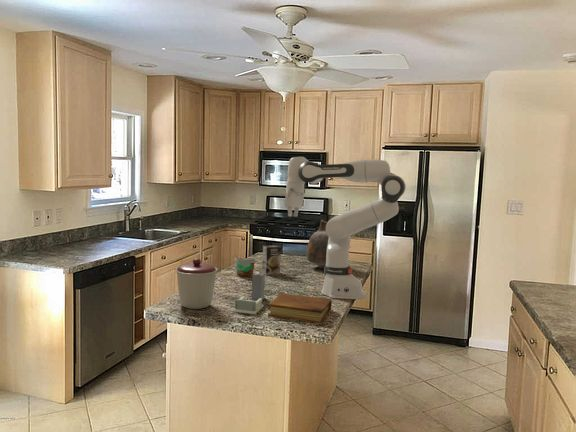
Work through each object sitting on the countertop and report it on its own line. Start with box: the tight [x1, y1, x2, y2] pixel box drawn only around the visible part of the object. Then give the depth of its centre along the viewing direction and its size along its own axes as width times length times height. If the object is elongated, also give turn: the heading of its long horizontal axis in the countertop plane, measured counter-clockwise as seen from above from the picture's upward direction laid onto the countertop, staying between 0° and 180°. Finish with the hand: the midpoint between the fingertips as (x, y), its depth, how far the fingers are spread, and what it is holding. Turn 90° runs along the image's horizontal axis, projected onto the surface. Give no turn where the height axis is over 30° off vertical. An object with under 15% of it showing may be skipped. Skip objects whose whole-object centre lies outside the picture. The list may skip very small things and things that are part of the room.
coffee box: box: [261, 244, 282, 276], centre depth 272 cm, size 9×6×16 cm
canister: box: [175, 258, 219, 310], centre depth 205 cm, size 18×18×21 cm
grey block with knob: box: [251, 271, 266, 301], centre depth 220 cm, size 5×5×13 cm
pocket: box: [232, 295, 264, 315], centre depth 204 cm, size 10×11×5 cm
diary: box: [267, 292, 332, 324], centre depth 202 cm, size 23×19×6 cm
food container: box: [234, 256, 256, 278], centre depth 264 cm, size 12×6×10 cm, turn 68°
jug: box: [306, 219, 329, 270], centre depth 290 cm, size 24×21×30 cm
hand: (292, 216), depth 235 cm, fingers open, 8 cm apart
